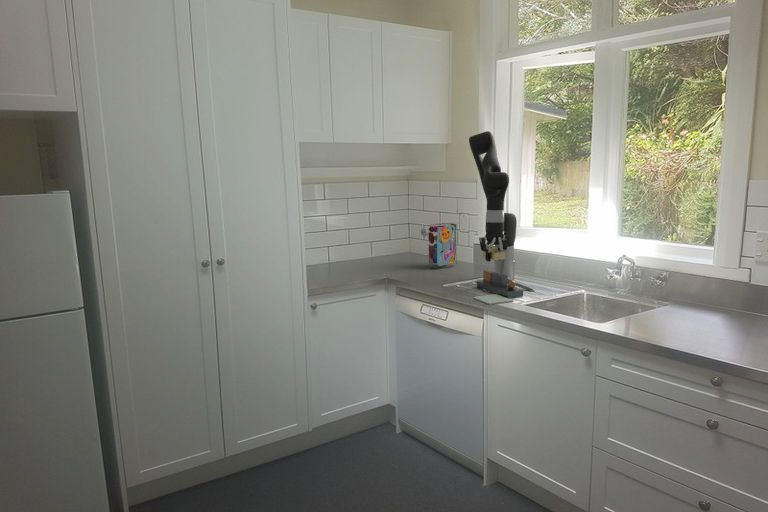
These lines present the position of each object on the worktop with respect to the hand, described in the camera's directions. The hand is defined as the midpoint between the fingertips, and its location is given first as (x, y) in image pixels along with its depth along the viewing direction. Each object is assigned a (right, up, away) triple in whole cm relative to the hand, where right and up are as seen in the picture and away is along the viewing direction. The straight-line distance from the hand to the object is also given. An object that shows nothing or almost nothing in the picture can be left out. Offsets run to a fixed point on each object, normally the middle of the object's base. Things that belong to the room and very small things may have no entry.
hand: (493, 260), depth 234 cm
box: (-17, -5, +72) cm, 74 cm away
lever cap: (0, +1, 0) cm, 1 cm away
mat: (0, -17, +3) cm, 17 cm away
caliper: (+15, -13, +24) cm, 32 cm away
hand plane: (+6, -14, +17) cm, 23 cm away
